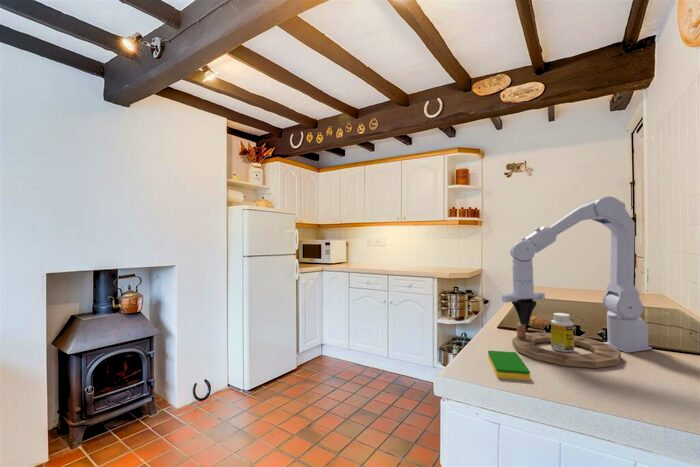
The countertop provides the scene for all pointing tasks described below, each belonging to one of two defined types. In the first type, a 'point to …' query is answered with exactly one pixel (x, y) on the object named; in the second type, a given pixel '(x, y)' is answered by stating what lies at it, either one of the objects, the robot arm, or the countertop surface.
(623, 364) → the countertop surface
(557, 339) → the supplement bottle
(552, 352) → the faceted tan ring
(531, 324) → the pastry
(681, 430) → the countertop surface
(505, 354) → the dish sponge
